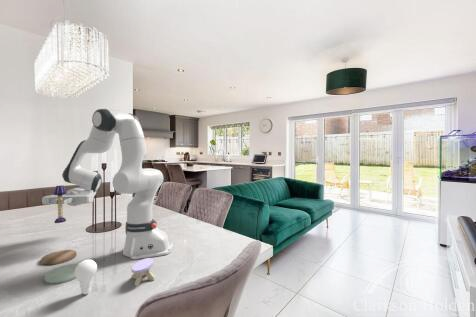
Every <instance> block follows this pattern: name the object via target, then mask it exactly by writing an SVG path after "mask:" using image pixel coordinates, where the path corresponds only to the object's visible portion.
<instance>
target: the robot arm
mask: <svg viewBox="0 0 476 317" xmlns="http://www.w3.org/2000/svg"><path fill="white" fill-rule="evenodd" d="M91 117H92V119H91V121H92V124H93V125H92V128H91V130H90V133H89V136H88V138H87V139H85V140H82V141H80V143H78V145H77V147H76V149H75V151H74V153H73V154H72V156H71V157H70V161H69V162H68V163H67V165H66V167H65V169H64V170H63V172H62V174H61V175H62V179H63V181H64V182H65V183H67V184H68V183H69V184H74V185H76V186H79V187H74V188H71V189H68V190H66V194H64V195H62V200H61V204H62V205H69V206H72V207H77V206H80V205H85V204H92V203H94V199H95V198H94V197H95V196H96V195H97V192H98V190H99V189H100V188H101V185H102V182H103V178H102V175H101V173H99V172H96V171H93V170H90V169H87V168H85V167H82V166H81V163H82V161H83V159H84V158H85V155H86V154H103V153H106V152H108V151H109V150H110V149H111V148H112V146H113V143H114V140H115V136H116V134H117V135H118V137H119V139H118V140H119V145H120V150H121V164H120V167H119V169H118V170H117V172H116V173H115V174H114V176H113V178H112V187H113V189H114V191H116V193H118V194H121V195H122V194H125V195H126V194H127V195H130V194H134V196H133V198H132V199H131V200H130V201H129V203H128V204H127V206H126V221H125V242H124V247H123V250H122V254H123V256H125V257H127V258H130V259H131V260H137V259H146V258H153V257H159V256H166V255H169V254H171V252H172V251H173V250H174V244H173V242H172V241H169V236H168V234H167V233H166V232H165V231H164V230H161V229H160V228H158V227H157V220H156V219H155V220H154V219H153V205H154V200H155V198H156V195H157V192H158V190H159V188H160V187H162V185H163V183H164V174H163V172H162V171H161V170H159V169H156V168H151V167H148V168H145V167H144V168H143V166H142V165H143V161H144V160H146V158H147V156H148V148H147V143H146V139H145V134H144V131H143V129H142V125H141V123H140V119H139V117H138V116H137V115H134V114H133V113H127V112H123V111H120V110H115V109H107V108H99V109H97V110H95V111H94V113H93V114H92V116H91ZM41 202H42V203H41V204H42V205H45V206H46V205H58V195H54V194H51V195H46V196H45V195H44V196H42V198H41Z"/></svg>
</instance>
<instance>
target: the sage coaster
mask: <svg viewBox="0 0 476 317" xmlns="http://www.w3.org/2000/svg"><path fill="white" fill-rule="evenodd" d="M78 264H79V263H68V264H64V265H62V266H59V267H55V268H53V269H51V270H50V271H48V272H47V273H46V274H45V275H44V282H45V284H46V283H47V284H51V285H57V284H63V283H67V282H70V281H73V280H75V279H77V278H76V276H75V268H76V266H77V265H78Z"/></svg>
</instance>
